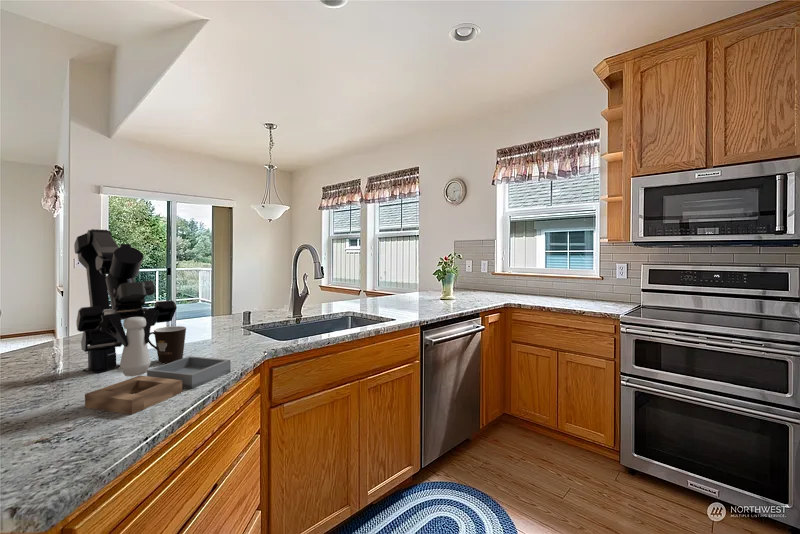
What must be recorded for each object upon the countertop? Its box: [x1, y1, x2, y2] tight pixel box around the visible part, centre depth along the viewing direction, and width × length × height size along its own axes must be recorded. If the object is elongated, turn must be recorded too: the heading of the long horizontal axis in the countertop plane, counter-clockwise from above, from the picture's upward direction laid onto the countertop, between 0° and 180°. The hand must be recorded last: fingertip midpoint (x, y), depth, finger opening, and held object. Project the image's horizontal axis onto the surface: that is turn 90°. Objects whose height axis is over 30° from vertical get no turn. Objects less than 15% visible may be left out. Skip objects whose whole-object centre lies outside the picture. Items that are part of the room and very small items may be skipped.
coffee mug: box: [147, 325, 187, 364], centre depth 119 cm, size 12×9×10 cm
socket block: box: [84, 375, 183, 415], centre depth 87 cm, size 13×13×3 cm
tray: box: [146, 355, 232, 390], centre depth 102 cm, size 14×14×4 cm
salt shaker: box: [119, 317, 151, 377], centre depth 86 cm, size 6×6×13 cm
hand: (137, 344), depth 86 cm, fingers closed on salt shaker, 4 cm apart
